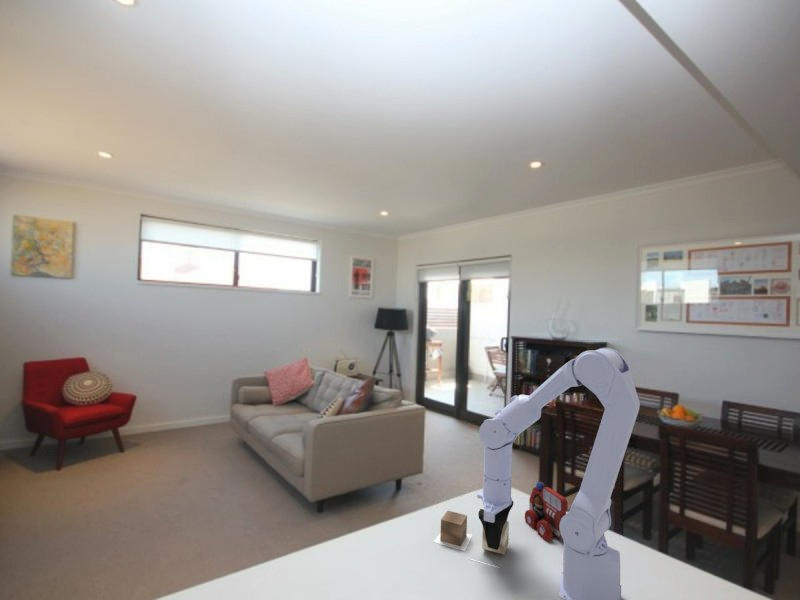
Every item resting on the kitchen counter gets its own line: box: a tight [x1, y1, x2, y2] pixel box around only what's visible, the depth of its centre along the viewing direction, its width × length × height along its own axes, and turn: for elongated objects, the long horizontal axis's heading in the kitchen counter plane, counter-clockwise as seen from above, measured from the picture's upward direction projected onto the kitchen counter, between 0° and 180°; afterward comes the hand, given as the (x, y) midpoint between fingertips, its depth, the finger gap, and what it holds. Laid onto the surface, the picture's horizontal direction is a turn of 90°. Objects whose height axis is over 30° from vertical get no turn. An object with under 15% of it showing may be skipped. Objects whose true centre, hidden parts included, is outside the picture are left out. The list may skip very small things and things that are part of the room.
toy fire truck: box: [524, 481, 569, 542], centre depth 95 cm, size 7×12×10 cm, turn 15°
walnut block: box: [440, 510, 468, 546], centre depth 90 cm, size 4×4×4 cm
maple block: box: [481, 520, 510, 555], centre depth 86 cm, size 4×4×4 cm
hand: (495, 541), depth 86 cm, fingers closed on maple block, 4 cm apart
